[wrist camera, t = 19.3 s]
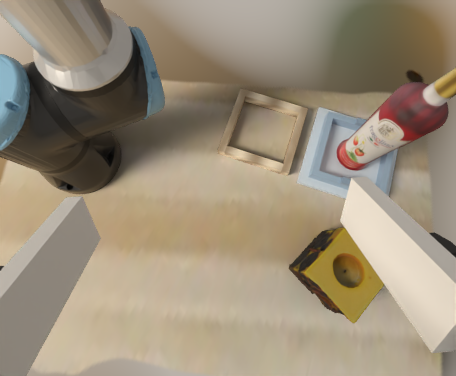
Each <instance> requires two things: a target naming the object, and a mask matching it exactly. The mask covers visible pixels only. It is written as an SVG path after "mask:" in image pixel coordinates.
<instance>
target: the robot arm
mask: <svg viewBox="0 0 456 376" xmlns="http://www.w3.org/2000/svg"><path fill="white" fill-rule="evenodd" d="M0 15H1V16H2V17H3V18H4V19H5V20H6V21H7V22H8V23H9V24H10V25H11V26H12V27H13V28H14V29H15V30H16V31H17V32H18V33H19V34H20V35H21V36H22V37H23V38H24V39H25V40H26V41H27V42H28V43H29V44H30V45H31V46H32V47H33V57H34V62H31V63H28V64H25V65H21V64H20V63H19V62H18V61H17V60H15V59H14V58H11V57H9V56H7V55H4V54H0V157H2V158H4V159H7V160H10V161H13V162H15V163H18V164H21V165H23V166H26V167H29V168H32V169H34V170H37V171H39V172H40V174H41V175H42V176H43V177H44V178H45V179H46V180H47V181H48V182H49V183H50V184H52V185H53V186H54V187H56V188H58V189H60V190H63V191H66V192H69V193H73V194H86V193H91V192H94V191H96V190H98V189H100V188H102V187H103V186H105V185H106V184H107V183H108V182H109V181H110V180H111V179H112V178H113V177H114V175H115V174H116V172H117V170H118V168H119V165H120V161H121V150H120V146H119V143H118V141H117V139H116V138H115V137H114V136H113V134H111V133H110V131H112V130H115V129H118V128H120V127H123V126H126V125H129V124H131V123H134V122H137V121H139V120H142V119H143V120H144V119H147V118H148V117H149V116H151V115H153V114H155V113H157V112H159V111H161V110H162V109H163V107H164V104H165V97H164V92H163V87H162V83H161V80H160V77H159V75H158V73H157V69H156V64H155V61H154V58H153V55H152V53H151V50H150V48H149V45H148V43H147V40H146V38H145V36H144V34H143V33H142V31H141V30H140V29H139V28H137V27H128V26H127V24H126V23H125V22H124V20H123V19H122V18H121V17H120V16H118V15H117V14H116V13H114V12H112V11H110V10H108V9H106V8H104V7H103V5H102V3H101V1H100V0H0ZM340 221H341V223H342V224H343V226H344V227H345V229H346V230H347V231H348V233H349V234H350V236H351V237H352V239H353V240H354V241H355V243H356V244H357V246H358V247H359V249H360V250H361V252H362V253H363V254H364V256H365V257H366V259H367V260H368V262H369V263H370V265H371V266H372V267H373V269H374V270H375V272H376V273H377V275H378V276H379V277H380V279H381V280H382V282H383V283H384V285H385V286H386V288H387V289H388V290H389V292H390V293H391V295H392V296H393V298H394V299H395V300H396V302H397V303H398V305H399V306H400V308H401V309H402V311H403V312H404V313H405V315H406V316H407V318H408V319H409V321H410V322H411V324H412V325H413V326H414V328H415V329H416V331H417V332H418V334H419V335H420V336H421V338H422V339H423V341H424V342H425V344H426V345H427V347H428V348H429V349H430V351H431V352H432V353H437V352H448V351H455V350H456V246H455V245H454V244H453V243H452V242H450V241H449V240H447V239H445V238H443V237H441V236H440V235H438V234H436V233H428V232H427V231H426V230H425V229H424V228H422V227H421V226H420V225H419V224H418V223H417V222H416V221H415V220H414V219H413V218H411V217H410V216H409V215H408V214H407V213H406V212H405V211H404V210H403V209H402V208H400V207H399V206H398V205H397V204H396V203H395V202H394V201H393V200H392V199H391V198H389V197H388V196H387V195H386V194H385V193H384V192H383V191H382V190H381V189H380V188H378V187H377V186H376V185H375V184H374V183H373V182H372V181H371V180H370V179H369V178H368V177H355V178H351V181H350V185H349V189H348V193H347V197H346V201H345V205H344V208H343V212H342V216H341V220H340ZM100 239H101V238H100V236H99V234H98V231H97V229H96V227H95V224H94V222H93V220H92V218H91V215H90V213H89V211H88V208H87V206H86V204H85V202H84V199H83V197H82V196H80V197H66V198H65V199H64V200H63V201H62V202H61V204H60V205H59V206H58V207H57V208H56V209H55V210H54V211H53V213H52V214H51V215H50V216H49V217H48V218H47V219H46V220H45V221H44V223H43V224H42V225H41V226H40V227H39V228H38V229H37V230H36V232H35V233H34V234H33V235H32V236H31V237H30V238H29V239H28V240H27V242H26V243H25V244H24V245H23V246H22V247H21V248H20V249H19V251H18V252H17V253H16V254H15V255H14V256H13V257H12V258H11V259H10V261H9V262H8V263H7V264H6V265H5V266H0V376H26V375H27V373H28V371H29V370H30V368H31V366H32V364H33V362H34V360H35V359H36V357H37V355H38V353H39V351H40V349H41V348H42V346H43V344H44V342H45V340H46V338H47V337H48V335H49V333H50V331H51V329H52V327H53V325H54V324H55V322H56V320H57V318H58V316H59V314H60V313H61V311H62V309H63V307H64V305H65V303H66V302H67V300H68V298H69V296H70V294H71V292H72V290H73V289H74V287H75V285H76V283H77V281H78V279H79V278H80V276H81V274H82V272H83V270H84V268H85V267H86V265H87V263H88V261H89V259H90V257H91V256H92V254H93V252H94V250H95V248H96V246H97V244H98V243H99V241H100Z"/></svg>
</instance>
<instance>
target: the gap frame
mask: <svg viewBox="0 0 456 376" xmlns="http://www.w3.org/2000/svg"><path fill="white" fill-rule="evenodd" d="M244 102H248V103H252V104H255V105H258V106H261V107H265V108H268V109H271V110H275V111H278V112H281V113H284V114H288V115H291V116H294V117H297V118H296V122H295V125H294V128H293V131H292V135H291V138H290V141H289V144H288V148H287V151H286V154H285V157H284V161H283V163H280V162H277V161H273V160H270V159H267V158H264V157H261V156H258V155H255V154H252V153H249V152H246V151H242V150H239V149H236V148H233V147H230V146H228V145H229V142H230V140H231V137H232V134H233V131H234V129H235V126H236V123H237V121H238V118H239V115H240V112H241V110H242V107H243V104H244ZM307 111H308V108H305V107H301V106H298V105H295V104H292V103H288V102H285V101H282V100H278V99H275V98H272V97H268V96H265V95H262V94H259V93H255V92H252V91H249V90H245V89H242V88H241V89H240V91H239V94H238V97H237V99H236V102H235V105H234V107H233V110H232V113H231V115H230V118H229V121H228V123H227V126H226V129H225V131H224V134H223V136H222V139H221V142H220V144H219V147H218V154H221V155H224V156H227V157H230V158H234V159H237V160H240V161H243V162H246V163H249V164H252V165H255V166H258V167H261V168H264V169H267V170H270V171H273V172H276V173H280V174H283V175H286V176H287V175H288V173H289V171H290V168H291V164H292V161H293V158H294V154H295V151H296V148H297V144H298V141H299V138H300V134H301V131H302V128H303V124H304V121H305V118H306V114H307Z"/></svg>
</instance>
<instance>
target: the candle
mask: <svg viewBox="0 0 456 376" xmlns="http://www.w3.org/2000/svg"><path fill="white" fill-rule="evenodd" d="M289 269H290V271H291V272H292V273H293V274H294V275H295V276H296V277H297V278H298V279H299V280H300V281H301V283H302V284H304V285H305V286H306V288H307V289H308V290H309V291H311V293H312V294H314V293H315V294H316V295H317V297H318V298H319V299H320V301H321V303H322V304H323V305H324V306H325V307H326V308H327V309H329V310H331V311H333V312H335V313H341V314H343V315H345V316H346V318H347V319H349V320H350V321H351V322H352V323H355V322H356V321H357V320H358V319H359V317H360V316H361V314H362V313H363V312H364V310H365V309H366V308H367V306H368V305H369V304H370V302H371V301H372V300H373V298H374V297H375V296H376V295H377V293H378V292H379V291H380V290H381V288H382V287H383V286H384V283H383V282H382V280H381V279H380V277H379V276H378V275H377V273H376V272H375V270H374V269H373V267H372V266H371V265H370V263H369V262H368V260H367V259H366V257H365V256H364V254H363V253H362V252H361V250H360V249H359V247H358V246H357V244H356V243H355V241H354V240H353V239H352V237H351V236H350V234H349V233H348V231H347V230H346V229H345V228H338V229H335V230H331V231H328V230H327V231H322V232H321V233H320V234H319V235H318V236H317V238H314V240H313V241H312V243H310V245H308V247H307V248H306V249H305V250H304V251H303V252H302V253H301V254H300V256H299V257H298V258H297V259H296V260H295V261H294V262H293V263H292V264H290V266H289Z"/></svg>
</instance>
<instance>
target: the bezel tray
mask: <svg viewBox="0 0 456 376" xmlns="http://www.w3.org/2000/svg"><path fill="white" fill-rule="evenodd" d="M366 121H367V120H364V119H361V118H355V117H351V116H348V115H345V114H341V113H338V112H335V111H331V110H328V109H325V108H321V107H319V108H318V111H317V114H316V117H315V121H314V124H313V128H312V131H311V135H310V138H309V142H308V145H307V149H306V152H305V155H304V159H303V162H302V166H301V169H300V173H299V176H298V180H297V183H298V184H301V185H304V186H307V187H310V188H313V189H316V190H319V191H322V192H325V193H328V194H331V195H334V196H337V197H340V198H343V199H346V197H347V193H348V189H349V185H350V181H351V178H355V177H368V178H369V179H370V180H371V181H372V182H373V183H374V184H375V185H376V186H377V187H378V188H380V189H381V190H382V191H383V192H384V193H385V194H386V195H387V196H388V197H389V192H390V187H391V182H392V177H393V172H394V167H395V162H396V157H397V152H398V149H395V150H393V151H391V152H389V153H387V154H385V155H383V156H381V157H379V158H377V159H375V160H374V161H372V162H370V163H369V164H368V165H367V167H365V168H364V169H362V170H358V171H353V170H349V169H347V168H345V167H344V166H343V165H342V164H341V163H340V162H339V160H338V158H337V148H338V146H339V144H340V143H341V142H342V141H344V140H346V139H349V138H350V137H351V136H352V135H353V134H354V133H355V132H356V131H357V130H358V129H359V128H360V127H361V126H362V125H363V124H364V123H365V122H366Z"/></svg>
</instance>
